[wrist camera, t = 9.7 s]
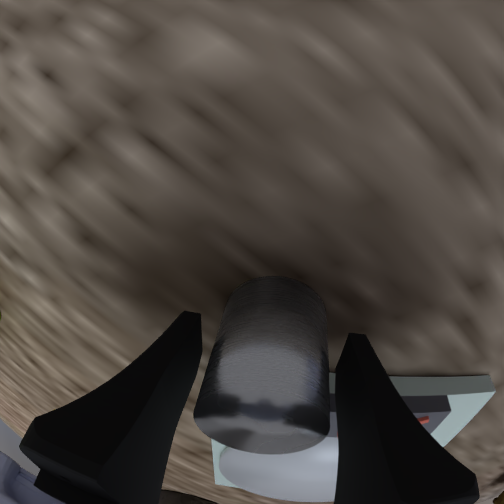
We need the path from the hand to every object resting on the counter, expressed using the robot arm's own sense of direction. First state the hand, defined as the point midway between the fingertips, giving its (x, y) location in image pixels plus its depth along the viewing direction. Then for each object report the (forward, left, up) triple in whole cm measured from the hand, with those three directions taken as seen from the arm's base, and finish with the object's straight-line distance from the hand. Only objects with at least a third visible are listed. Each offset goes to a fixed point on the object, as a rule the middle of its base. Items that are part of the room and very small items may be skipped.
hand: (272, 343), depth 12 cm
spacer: (0, 0, -2) cm, 2 cm away
